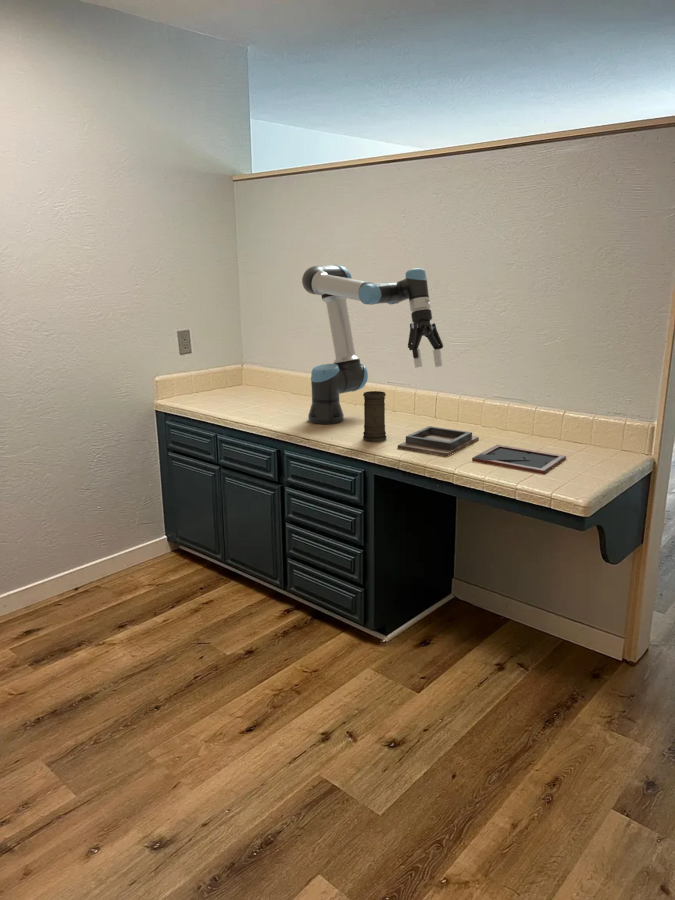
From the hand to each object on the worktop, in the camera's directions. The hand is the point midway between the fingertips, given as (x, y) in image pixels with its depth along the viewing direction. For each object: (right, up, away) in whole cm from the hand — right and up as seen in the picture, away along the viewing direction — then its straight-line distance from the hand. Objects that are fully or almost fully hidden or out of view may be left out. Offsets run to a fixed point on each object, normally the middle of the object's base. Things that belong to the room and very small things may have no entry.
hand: (428, 366), depth 254 cm
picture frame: (+27, -35, -25) cm, 51 cm away
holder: (+3, -29, -4) cm, 30 cm away
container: (-20, -27, +4) cm, 34 cm away
